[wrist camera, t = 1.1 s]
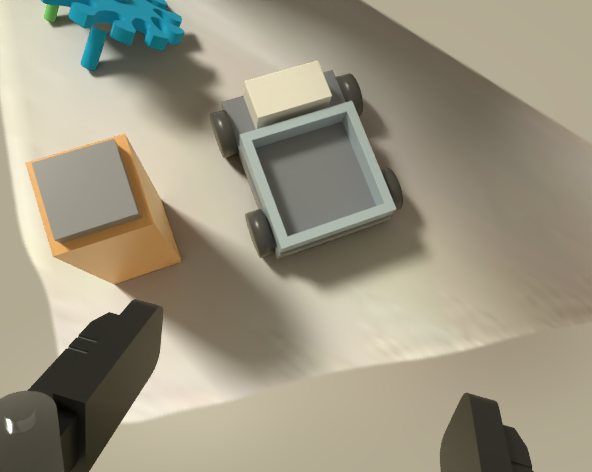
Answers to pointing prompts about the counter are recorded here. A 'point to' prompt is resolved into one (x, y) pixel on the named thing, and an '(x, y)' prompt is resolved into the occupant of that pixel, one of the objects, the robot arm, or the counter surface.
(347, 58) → the counter surface
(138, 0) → the gear
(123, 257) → the orange tower grey cap
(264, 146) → the truck
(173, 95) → the counter surface
